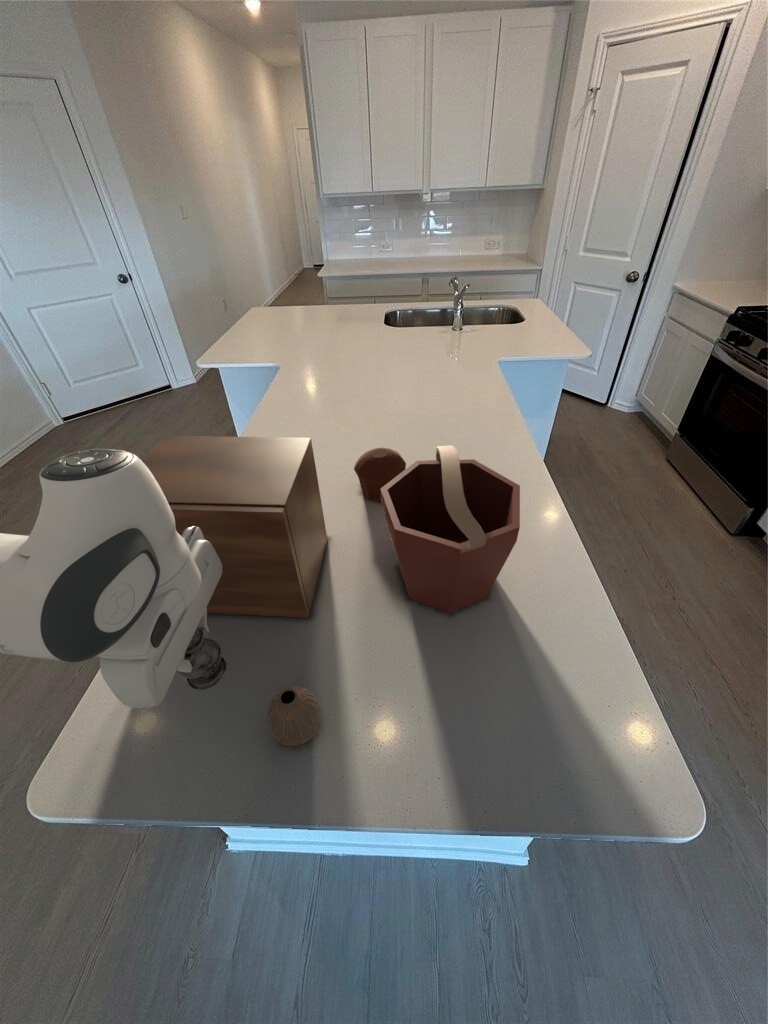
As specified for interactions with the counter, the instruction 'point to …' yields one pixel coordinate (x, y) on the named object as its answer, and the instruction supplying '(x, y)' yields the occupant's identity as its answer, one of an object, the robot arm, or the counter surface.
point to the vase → (294, 716)
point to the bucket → (451, 528)
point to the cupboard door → (249, 558)
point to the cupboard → (249, 484)
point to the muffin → (378, 470)
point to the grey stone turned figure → (204, 662)
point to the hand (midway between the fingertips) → (194, 651)
